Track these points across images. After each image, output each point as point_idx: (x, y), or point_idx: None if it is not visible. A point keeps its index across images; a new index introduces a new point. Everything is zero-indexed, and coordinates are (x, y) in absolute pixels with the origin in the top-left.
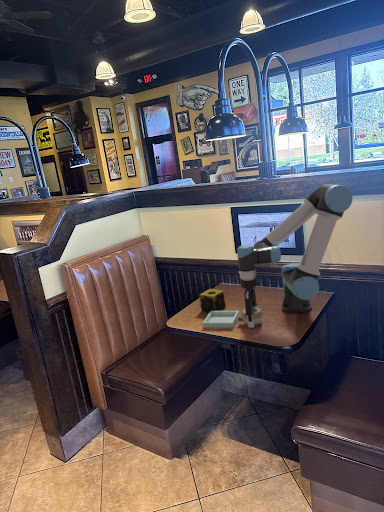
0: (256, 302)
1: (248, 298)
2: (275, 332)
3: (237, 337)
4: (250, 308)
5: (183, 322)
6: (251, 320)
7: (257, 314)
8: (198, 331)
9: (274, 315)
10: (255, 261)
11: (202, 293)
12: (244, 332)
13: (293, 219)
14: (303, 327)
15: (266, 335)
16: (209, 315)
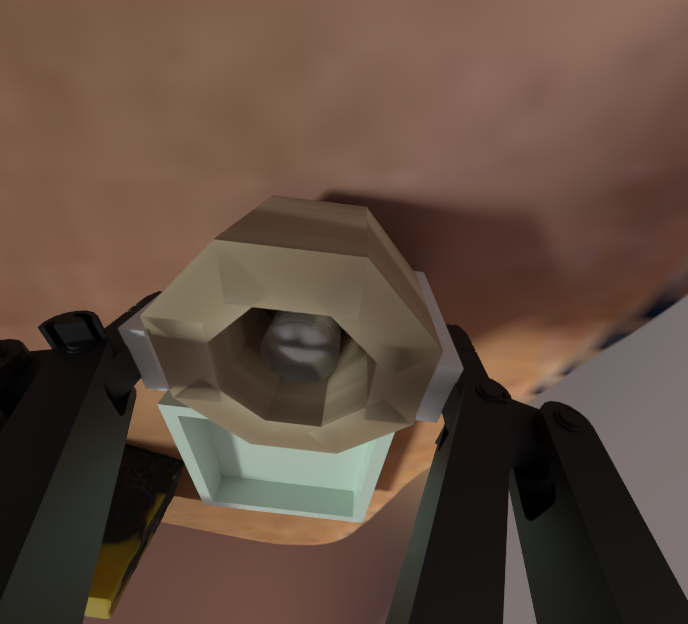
0: (3, 347)
1: None
2: None
3: (539, 369)
4: (662, 557)
5: (296, 526)
6: (463, 335)
7: (403, 292)
8: (392, 497)
9: (35, 18)
10: None
11: (84, 614)
12: (471, 333)
13: None
14: None
15: (640, 126)
16: (268, 507)
